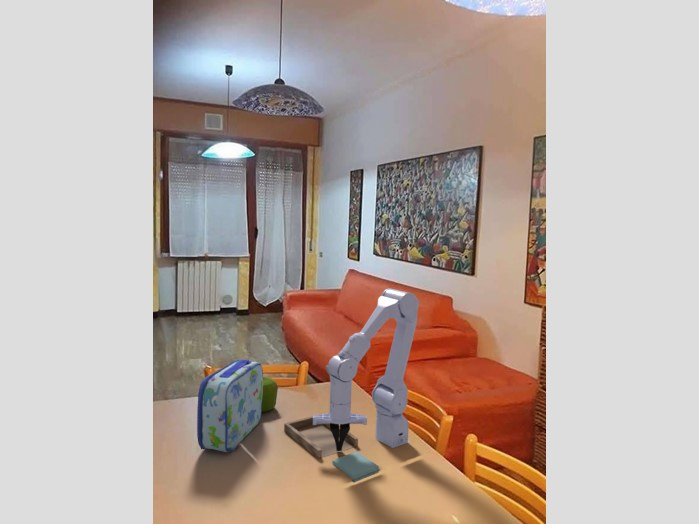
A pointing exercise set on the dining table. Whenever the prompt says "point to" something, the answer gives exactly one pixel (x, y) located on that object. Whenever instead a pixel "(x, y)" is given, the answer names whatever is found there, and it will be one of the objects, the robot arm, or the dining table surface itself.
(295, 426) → the box
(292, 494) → the dining table surface
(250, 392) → the lunch box
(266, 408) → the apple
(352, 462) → the teal square tile
